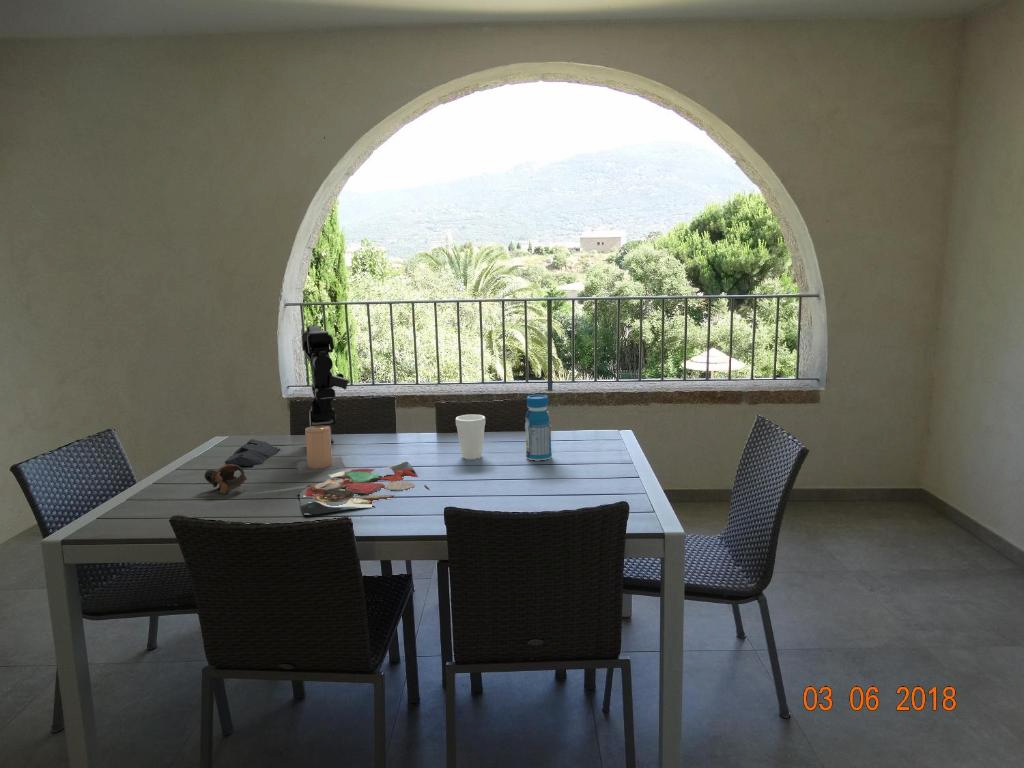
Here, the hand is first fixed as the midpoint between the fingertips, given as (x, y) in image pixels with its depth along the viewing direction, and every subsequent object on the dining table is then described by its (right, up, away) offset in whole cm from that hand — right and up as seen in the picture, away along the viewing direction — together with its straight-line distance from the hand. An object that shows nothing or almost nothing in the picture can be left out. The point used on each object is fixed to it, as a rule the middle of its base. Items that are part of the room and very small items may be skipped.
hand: (325, 414), depth 249 cm
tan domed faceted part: (+3, -15, -16) cm, 22 cm away
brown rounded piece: (-19, -20, -36) cm, 46 cm away
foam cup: (+50, -14, -10) cm, 53 cm away
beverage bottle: (+72, -14, -14) cm, 74 cm away
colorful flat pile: (+21, -20, -40) cm, 49 cm away
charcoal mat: (+3, -16, -16) cm, 23 cm away
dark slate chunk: (-24, -15, -3) cm, 28 cm away
